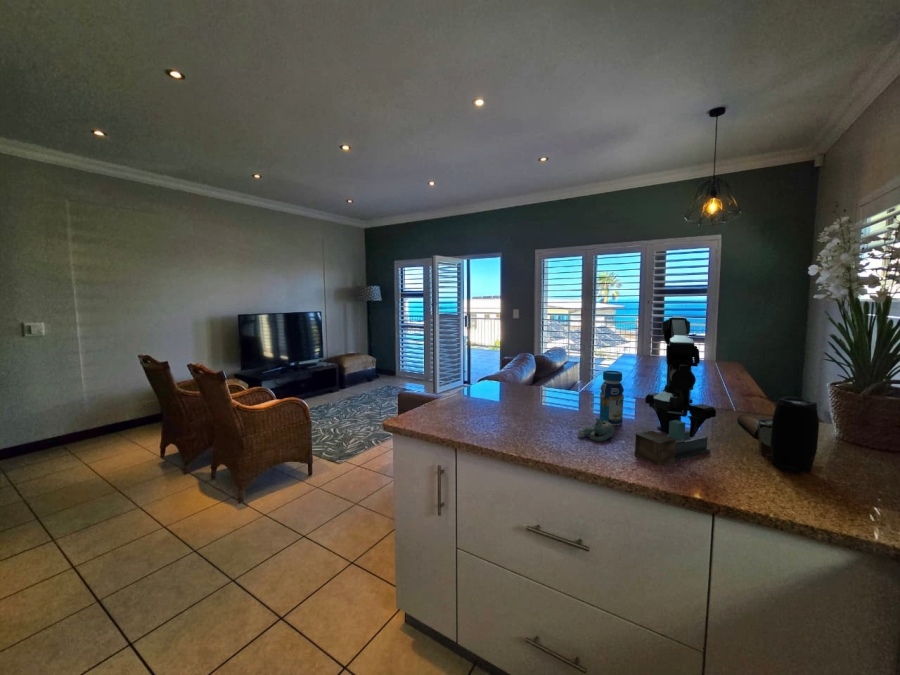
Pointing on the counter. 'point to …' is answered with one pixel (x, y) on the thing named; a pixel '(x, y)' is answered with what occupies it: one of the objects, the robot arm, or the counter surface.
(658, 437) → the socket block
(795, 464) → the portable speaker
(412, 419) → the counter surface
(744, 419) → the sunglasses case
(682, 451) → the sleeve channel
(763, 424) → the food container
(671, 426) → the teal angled piece
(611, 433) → the stuffed animal
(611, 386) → the beverage bottle
